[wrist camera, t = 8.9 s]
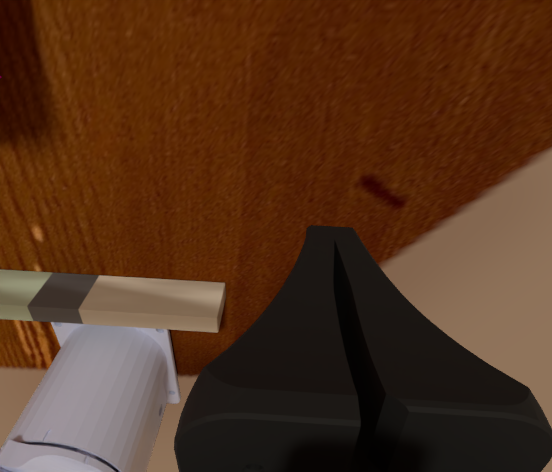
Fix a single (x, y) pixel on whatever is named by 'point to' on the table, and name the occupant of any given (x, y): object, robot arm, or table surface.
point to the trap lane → (111, 300)
